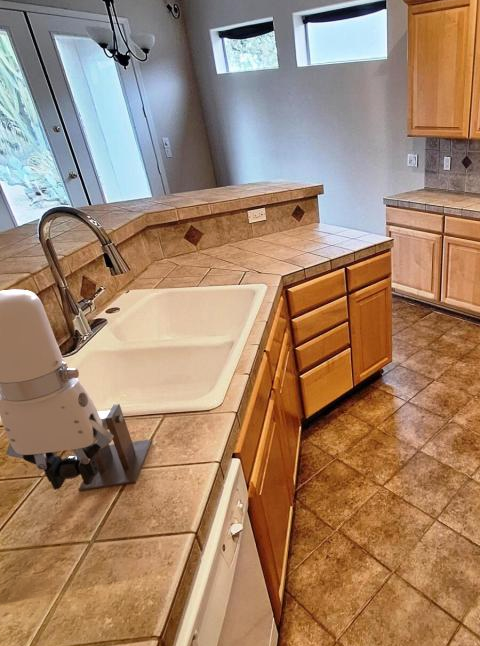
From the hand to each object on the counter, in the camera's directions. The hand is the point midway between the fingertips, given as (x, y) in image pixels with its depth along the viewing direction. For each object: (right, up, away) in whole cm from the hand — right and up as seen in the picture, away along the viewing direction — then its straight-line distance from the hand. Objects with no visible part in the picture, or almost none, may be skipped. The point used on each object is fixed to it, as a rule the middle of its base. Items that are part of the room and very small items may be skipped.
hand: (76, 479), depth 67 cm
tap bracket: (-3, -3, +15) cm, 16 cm away
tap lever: (-1, +3, +5) cm, 6 cm away
